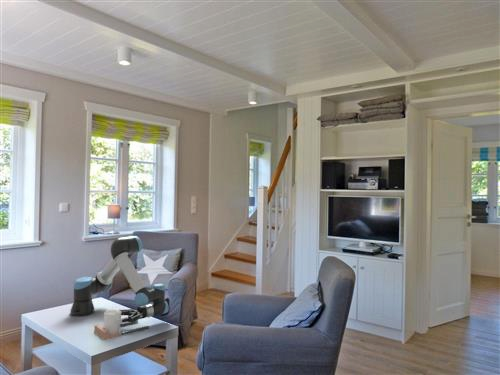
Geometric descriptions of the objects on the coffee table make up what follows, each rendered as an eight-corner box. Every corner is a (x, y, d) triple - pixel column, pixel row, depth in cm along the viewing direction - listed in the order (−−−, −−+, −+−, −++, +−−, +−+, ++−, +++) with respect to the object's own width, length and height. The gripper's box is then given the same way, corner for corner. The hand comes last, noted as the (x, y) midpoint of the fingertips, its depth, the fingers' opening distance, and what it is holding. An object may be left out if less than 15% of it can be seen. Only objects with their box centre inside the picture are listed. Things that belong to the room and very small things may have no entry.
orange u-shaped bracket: (94, 331, 223) (94, 325, 223) (109, 328, 229) (109, 321, 229) (105, 339, 211) (105, 332, 211) (120, 335, 217) (120, 329, 217)
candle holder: (115, 336, 216) (115, 315, 216) (99, 334, 218) (100, 314, 218) (124, 330, 226) (124, 310, 226) (109, 328, 228) (110, 309, 228)
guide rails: (110, 327, 229) (110, 325, 229) (136, 321, 241) (136, 319, 241) (122, 335, 218) (122, 332, 218) (148, 328, 229) (148, 326, 229)
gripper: (154, 323, 226) (120, 331, 212) (135, 312, 245) (103, 319, 230) (154, 310, 227) (120, 317, 212) (136, 301, 245) (103, 307, 231)
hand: (111, 318), depth 221 cm, fingers open, 13 cm apart
